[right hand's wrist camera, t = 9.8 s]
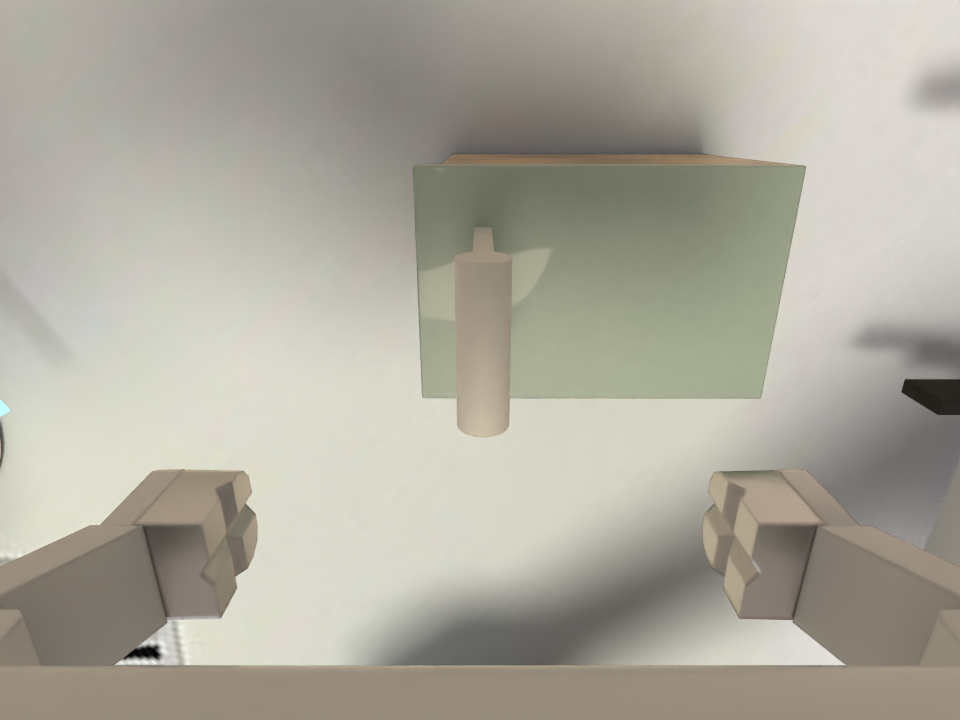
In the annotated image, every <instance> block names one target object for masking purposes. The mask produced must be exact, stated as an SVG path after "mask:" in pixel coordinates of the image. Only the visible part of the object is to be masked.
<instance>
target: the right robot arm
mask: <svg viewBox="0 0 960 720" xmlns="http://www.w3.org/2000/svg"><path fill="white" fill-rule="evenodd" d="M9 411H10V410H9V409H8V408H7V407H6V405H5V404H4V403H3V402H2V401H1V400H0V416H2V415H4V414H5V413H7V412H9ZM0 457H1V440H0ZM251 493H252V490H251V485H250V481H249V476H248V475H247V474H246V473H245V472H244V471H227V470H184V469H174V470H156V471H152V472H151V473H150V474H149V475H148V476H147V477H146V478H145V479H144V480H143V481H142V482H141V483H140V484H139V485H138V486H137V487H136V488H135V490H134V491H133V492H132V493H131V494H130V495H129V496H128V497H127V498H126V499H125V500H124V501H123V502H122V503H121V504H120V505H119V506H118V507H117V508H116V509H115V510H114V511H113V512H112V513H111V514H110V515H109V516H108V517H107V518H106V519H105V520H104V521H103V522H102V523H101V525H91V526H88V527H86V528H83V529H81V530H79V531H77V532H75V533H73V534H70V535H68V536H66V537H64V538H62V539H59V540H57V541H55V542H53V543H51V544H49V545H46V546H44V547H42V548H40V549H38V550H36V551H33V552H31V553H29V554H27V555H25V556H22V557H20V558H18V559H16V560H14V561H12V562H9V563H7V564H5V565H3V566H1V567H0V720H960V567H959V566H957V565H955V564H953V563H950V562H948V561H946V560H944V559H942V558H940V557H937V556H935V555H933V554H931V553H929V552H926V551H924V550H922V549H920V548H918V547H916V546H913V545H911V544H909V543H907V542H905V541H903V540H900V539H898V538H896V537H894V536H892V535H890V534H887V533H885V532H883V531H881V530H879V529H877V528H874V527H872V526H869V525H860V524H859V523H858V522H857V521H856V520H855V519H854V518H853V517H852V516H851V515H850V514H849V513H848V512H847V511H846V510H845V509H844V508H843V507H842V506H841V505H840V504H839V503H838V502H837V501H836V500H835V499H834V498H833V497H832V496H831V495H830V493H829V492H828V491H827V490H826V489H825V488H824V487H823V486H822V485H821V484H820V483H819V482H818V481H817V480H816V479H815V478H814V477H813V476H812V475H811V474H810V473H809V472H807V471H805V470H802V469H791V470H767V471H727V472H714V473H713V475H712V478H711V480H710V484H709V490H708V493H709V495H710V496H711V498H712V500H713V501H714V503H715V504H714V505H713V506H712V507H711V508H710V509H709V510H708V511H707V512H706V513H705V514H704V520H703V528H702V533H703V545H704V549H705V552H706V556H707V558H708V560H709V562H710V564H711V566H712V568H713V569H714V570H716V571H717V572H719V573H720V574H722V575H723V576H724V577H725V578H724V584H723V589H724V591H725V593H726V595H727V597H728V598H729V600H730V602H731V604H732V606H733V608H734V610H735V611H736V613H737V615H738V617H739V619H775V620H793V623H794V624H795V625H797V626H798V627H799V628H800V629H802V630H803V631H804V632H805V633H807V634H808V635H809V636H810V637H812V638H813V639H814V640H815V641H816V642H818V643H819V644H820V645H821V646H823V647H824V648H825V649H826V650H828V651H829V652H830V653H831V654H833V655H834V656H835V657H836V658H838V659H839V660H840V661H841V662H843V663H844V664H845V665H555V666H266V665H115V664H116V663H117V662H119V661H120V660H121V659H122V658H124V657H125V656H126V655H127V654H129V653H130V652H131V651H132V650H134V649H135V648H136V647H137V646H139V645H140V644H141V643H142V642H144V641H145V640H146V639H147V638H149V637H150V636H151V635H152V634H154V633H155V632H156V631H157V630H159V629H160V628H161V627H163V626H164V625H165V624H166V623H167V620H184V619H219V618H221V617H222V615H223V613H224V612H225V610H226V608H227V606H228V604H229V602H230V600H231V599H232V597H233V595H234V593H235V591H236V589H237V584H236V578H235V577H236V576H237V575H238V574H240V573H241V572H243V571H244V570H246V569H247V568H248V566H249V564H250V562H251V560H252V558H253V556H254V552H255V548H256V543H257V527H258V526H257V519H256V514H255V513H254V512H253V511H252V510H251V509H250V508H249V507H248V506H247V505H246V504H245V503H246V501H247V500H248V498H249V496H250V495H251Z"/></svg>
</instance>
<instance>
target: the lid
mask: <svg viewBox="0 0 960 720" xmlns="http://www.w3.org/2000/svg"><path fill="white" fill-rule="evenodd" d="M805 170H806V166H802V165H793V164H417V165H415V166H413V182H414V207H415V232H416V257H417V282H418V307H419V333H420V358H421V383H422V397H423V398H457V426H458V428H459V429H460V431H462V432H463V433H465V434H467V435H470V436H475V437H491V436H496V435H499V434H501V433H503V432H505V431H506V430H507V428H508V426H509V400H510V398H707V399H760V398H761V395H762V390H763V385H764V379H765V374H766V369H767V364H768V359H769V354H770V349H771V344H772V339H773V334H774V328H775V323H776V318H777V313H778V308H779V303H780V298H781V293H782V288H783V283H784V277H785V272H786V267H787V262H788V257H789V252H790V247H791V242H792V237H793V232H794V227H795V221H796V216H797V211H798V206H799V201H800V196H801V191H802V186H803V181H804V176H805Z"/></svg>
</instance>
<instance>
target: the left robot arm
mask: <svg viewBox="0 0 960 720" xmlns="http://www.w3.org/2000/svg"><path fill="white" fill-rule="evenodd" d="M901 392H902V393H904V394H905V395H907V396H908V397H910V398H912V399H913V400H915V401H916V402H918V403H920V404H921V405H923V406H924V407H926V408H928V409H929V410H931V411H932V412H934V413H936V414H937V415H960V380H954V379H905V381H904V385H903V388H902V391H901Z"/></svg>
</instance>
